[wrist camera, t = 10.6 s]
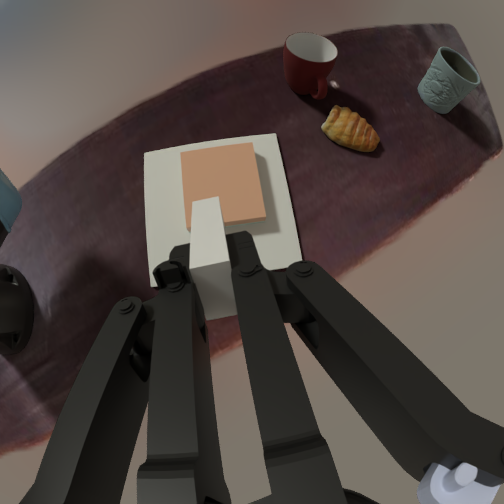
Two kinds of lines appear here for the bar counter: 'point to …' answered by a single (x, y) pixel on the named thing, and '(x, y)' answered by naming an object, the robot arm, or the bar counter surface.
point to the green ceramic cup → (447, 81)
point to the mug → (308, 63)
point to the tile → (224, 182)
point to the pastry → (350, 130)
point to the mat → (264, 234)
